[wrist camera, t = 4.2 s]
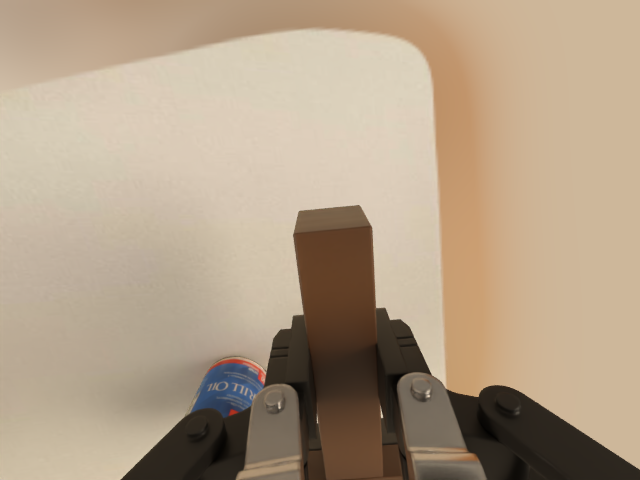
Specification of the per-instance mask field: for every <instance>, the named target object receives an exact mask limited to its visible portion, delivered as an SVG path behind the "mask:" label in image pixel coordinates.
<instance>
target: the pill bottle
mask: <svg viewBox="0 0 640 480" xmlns="http://www.w3.org/2000/svg"><path fill="white" fill-rule="evenodd" d="M265 378H266V372H265V370H264V369H263V368H262V367H261V366H260V365H258V364H257V363H255V362H254V361H252V360H249V359H246V358H242V357H229V358H225V359H222V360H220V361H218V362H216V363H215V364H214V365H213V366H212V367H211V368H210V369H209V370H208V372H207V373H206V375H205V377H204V379H203V381H202V383H201V385H200V387H199V389H198V391H197V393H196V395H195V397H194V399H193V401H192V403H191V405H190V407H189V409H188V411H187V413H186V415H185V416H187V415H188V414H190V413H192V412H194V411H196V410H199V409H203V408H213V409H216V410H218V411H219V412H220V413H221V414H222V416H223V418H224V417H227V416H230V415H233V414H235V413H238V412H241V411H243V410H245V409H247V408H248V407H250V406H251V405H252V401H253V399H254V397H255V396H256V395H257V393H258V392H260V391H261V390H262V389H263V387H264V382H265Z"/></svg>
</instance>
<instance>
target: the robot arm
mask: <svg viewBox="0 0 640 480" xmlns="http://www.w3.org/2000/svg"><path fill="white" fill-rule="evenodd" d="M376 323H377V344H376V346H377V368H378V390H379V401H380V405H381V409H382V414H383V418H384V422H385V427H386V431H387V434H390V433H395V434H396V438H397V442H398V457H399V464H400V472H401V479H402V480H640V470H639V469H638V468H636V467H635V466H633V465H631V464H630V463H628V462H627V461H625V460H624V459H622V458H621V457H619V456H618V455H616V454H615V453H613V452H612V451H610V450H608V449H607V448H605V447H604V446H602V445H601V444H599V443H598V442H596V441H595V440H593V439H592V438H590V437H589V436H587V435H585V434H584V433H582V432H581V431H579V430H578V429H576V428H575V427H573V426H572V425H570V424H569V423H567V422H566V421H564V420H563V419H561V418H559V417H558V416H556V415H555V414H553V413H552V412H550V411H549V410H547V409H546V408H544V407H542V406H541V405H540V404H538V403H537V402H535V401H533V400H532V399H530V398H529V397H527V396H526V395H524V394H523V393H521V392H519V391H517V390H515V389H513V388H510V387H506V386H499V385H495V386H489V387H486V388H484V389H483V390H482V391H481V392H480V394H479V397H474V396H468V395H463V394H458V393H454V392H452V391H449V390H447V389H446V388H445V386H444V385H443V384H442V382H441V381H440V380H438V379H437V378H435V377H434V376H432V375H431V372H430V370H429V368H428V366H427V364H426V362H425V360H424V357H423V355H422V353H421V351H420V349H419V347H418V346H417V342H416V340H415V338H414V336H413V334H412V331H411V329H410V327H409V326H408V325H407V324H405V323H404V322H403V321H402V320H401V319H398V320H390V319H389V317H388V314H387V311H386V309H385V308H376ZM311 439H317V401H316V393H315V385H314V378H313V370H312V362H311V355H310V349H309V348H308V342H307V334H306V327H305V320H304V315H295V316H293V320H292V327H291V329H283V330H280V331H279V332H278V334H277V335H276V336H275V337H274V339H273V344H272V350H271V353H270V358H269V363H268V368H267V373H266V378H265V382H264V387H263V389H262V390H261V391H260V392H258V393H257V395H256V396H255V397H254V399H253V401H252V405H251V406H250V407H248V408H247V409H245V410H243V411H241V412H238V413H235V414H233V415H230V416H227V417H224V418H223V416H222V414H221V413H220V412H219V411H218V410H216V409H213V408H203V409H199V410H196V411H194V412H192V413H190V414H188V415H187V416H185V417H184V418H183V419H182V420H181V421H180V422H179V423H178V424H177V425H176V426H175V427H174V428H173V429H172V430H171V431H170V432H169V433H168V434H167V435H166V436H164V437H163V438H162V439H161V440H160V441H159V442H158V443H157V444H156V445H155V446H154V447H153V448H152V449H151V450H150V451H149V452H148V453H147V454H146V455H145V456H144V457H143V458H142V459H141V460H140V461H139V462H138V463H137V464H136V465H135V466H134V467H133V468H132V469H131V470H130V471H129V472H128V473H127V474H126V475H125V476H124V477H123V478H122V479H121V480H310V477H309V464H308V454H309V440H311Z"/></svg>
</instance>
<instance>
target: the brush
mask: <svg viewBox="0 0 640 480" xmlns="http://www.w3.org/2000/svg"><path fill="white" fill-rule="evenodd" d="M293 237H294V245H295V252H296V260H297V267H298V275H299V282H300V290H301V297H302V305H303V312H304V320H305V327H306V334H307V342H308V348H309V349H310V355H311V362H312V370H313V378H314V385H315V393H316V401H317V416H318V423H317V439H311V440H309V454H308V464H309V477H310V480H402V479H401V472H400V464H399V457H398V442H397V438H396V434H395V433H390V434H387V431H386V427H385V422H384V418H381V410H380V401H379V390H378V368H377V346H376V344H377V323H376V301H375V279H374V257H373V235H372V227H371V225H370V223H369V221H368V219H367V217H366V216H365V214H364V212H363V210H362V208H361V207H360V206H359V205H356V206H345V207H335V208H325V209H315V210H305V211H299V212H298V217H297V221H296V225H295V230H294V234H293Z"/></svg>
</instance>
